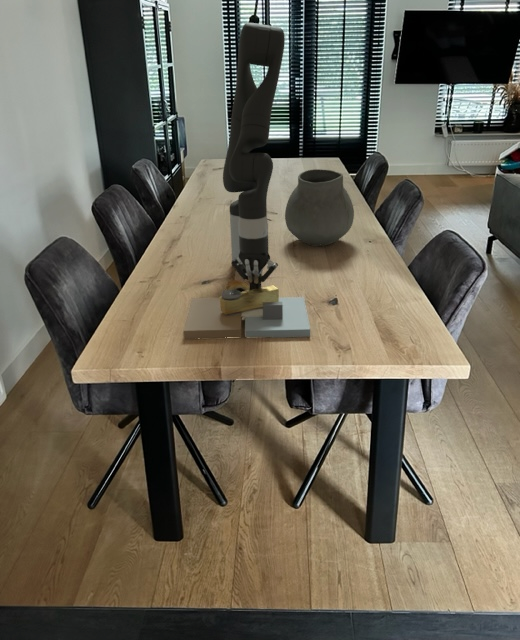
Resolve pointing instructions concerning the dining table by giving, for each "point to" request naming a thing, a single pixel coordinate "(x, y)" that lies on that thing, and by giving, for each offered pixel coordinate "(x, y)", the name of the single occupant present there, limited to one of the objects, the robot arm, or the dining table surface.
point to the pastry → (237, 285)
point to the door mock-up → (247, 319)
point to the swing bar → (247, 299)
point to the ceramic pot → (319, 208)
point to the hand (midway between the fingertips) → (255, 294)
